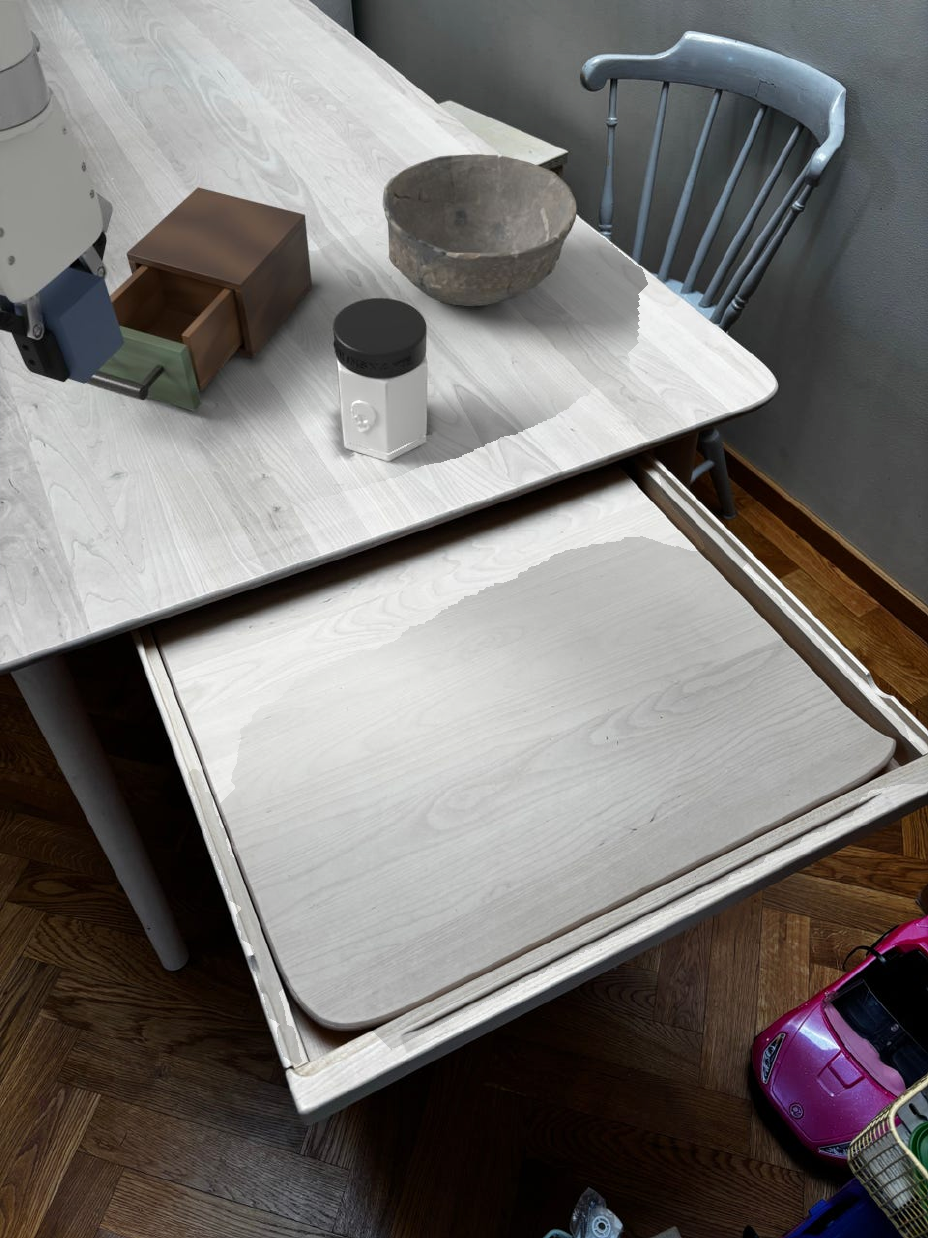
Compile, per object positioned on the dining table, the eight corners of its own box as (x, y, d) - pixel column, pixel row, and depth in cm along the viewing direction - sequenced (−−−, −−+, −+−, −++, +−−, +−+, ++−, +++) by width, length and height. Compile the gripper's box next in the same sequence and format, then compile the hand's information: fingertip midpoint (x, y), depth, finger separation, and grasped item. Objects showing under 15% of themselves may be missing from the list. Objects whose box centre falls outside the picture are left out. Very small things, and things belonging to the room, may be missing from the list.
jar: (322, 444, 87) (311, 338, 77) (358, 392, 91) (352, 286, 82) (409, 470, 85) (409, 366, 75) (441, 417, 90) (445, 311, 80)
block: (84, 384, 64) (59, 317, 60) (25, 365, 65) (-4, 298, 61) (124, 343, 67) (104, 277, 63) (67, 325, 68) (42, 259, 64)
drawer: (171, 439, 85) (154, 381, 79) (66, 406, 87) (43, 347, 81) (257, 337, 94) (248, 278, 89) (161, 309, 96) (146, 250, 91)
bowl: (523, 221, 111) (532, 138, 103) (595, 320, 100) (611, 236, 92) (360, 248, 106) (356, 163, 98) (416, 355, 95) (416, 269, 87)
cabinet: (253, 358, 94) (240, 284, 87) (146, 327, 96) (125, 252, 89) (312, 287, 101) (305, 214, 94) (212, 260, 104) (197, 186, 97)
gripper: (16, 15, 57) (99, 275, 71) (-194, 139, 47) (-48, 409, 62) (119, 39, 55) (182, 299, 70) (-75, 172, 46) (45, 440, 61)
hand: (73, 348), depth 66 cm, fingers closed on block, 5 cm apart
